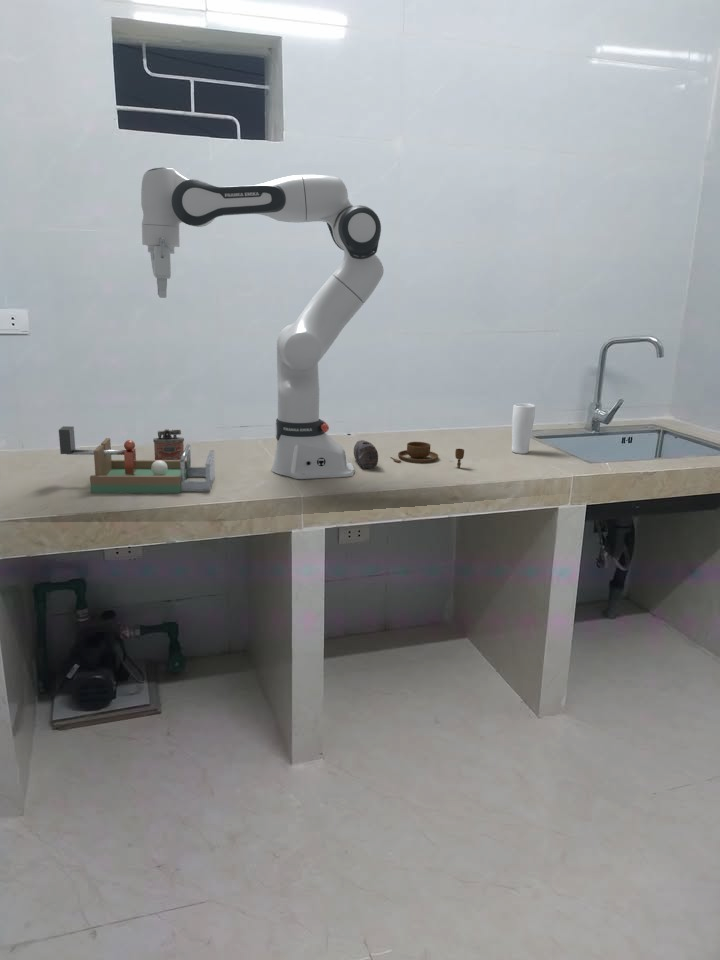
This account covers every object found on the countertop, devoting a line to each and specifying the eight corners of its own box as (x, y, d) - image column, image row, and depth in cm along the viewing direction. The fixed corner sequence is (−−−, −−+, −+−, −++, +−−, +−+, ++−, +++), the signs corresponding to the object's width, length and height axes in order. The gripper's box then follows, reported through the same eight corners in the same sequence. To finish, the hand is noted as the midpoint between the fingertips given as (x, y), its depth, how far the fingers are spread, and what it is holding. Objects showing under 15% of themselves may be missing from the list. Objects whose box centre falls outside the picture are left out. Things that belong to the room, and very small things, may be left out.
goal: (214, 476, 195) (213, 444, 193) (210, 491, 182) (209, 457, 180) (187, 475, 195) (186, 444, 192) (181, 491, 181) (179, 457, 179)
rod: (137, 469, 188) (135, 427, 185) (134, 474, 184) (132, 430, 181) (66, 469, 186) (63, 426, 183) (62, 473, 182) (58, 429, 179)
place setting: (436, 453, 230) (437, 435, 228) (466, 470, 212) (468, 450, 210) (383, 456, 224) (384, 437, 222) (410, 474, 206) (411, 453, 204)
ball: (169, 473, 189) (168, 458, 188) (166, 478, 185) (166, 462, 184) (152, 473, 188) (152, 458, 187) (150, 477, 185) (149, 462, 184)
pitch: (187, 474, 196) (186, 437, 193) (180, 492, 180) (179, 452, 178) (105, 474, 193) (103, 437, 190) (91, 492, 178) (88, 452, 175)
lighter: (154, 467, 202) (153, 431, 199) (154, 464, 205) (152, 428, 202) (185, 466, 204) (183, 430, 201) (184, 463, 207) (183, 427, 204)
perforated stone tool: (349, 458, 219) (349, 434, 217) (366, 457, 220) (367, 434, 218) (360, 471, 205) (361, 447, 203) (379, 471, 206) (380, 446, 204)
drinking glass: (532, 455, 229) (537, 407, 225) (510, 454, 230) (515, 406, 225) (528, 450, 236) (533, 403, 232) (507, 449, 236) (511, 402, 232)
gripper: (176, 238, 173) (177, 299, 177) (172, 240, 192) (173, 295, 196) (148, 236, 172) (149, 298, 175) (147, 238, 190) (148, 294, 194)
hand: (162, 296), depth 186 cm, fingers open, 8 cm apart
